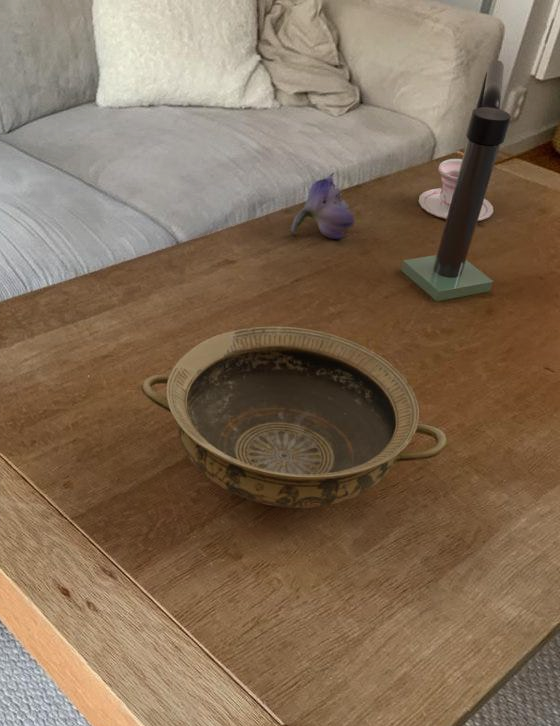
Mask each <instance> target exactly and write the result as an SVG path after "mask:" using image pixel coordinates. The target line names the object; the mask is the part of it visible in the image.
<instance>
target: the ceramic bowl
mask: <svg viewBox="0 0 560 726" xmlns="http://www.w3.org/2000/svg"><path fill="white" fill-rule="evenodd" d="M159 384H160V385H161V384H166V387H165V394H166V397H165V396H162V394H159V393H158V392H157V391H155V390H154V389H153V386H155V385H159ZM141 391H142V394H143V395H144V396H145V397H146V398H147V399H148V400H149V401H151V402H152V403H153V404H155V405H157V406H158V407H160V408H162V409H163V410H165V411H167V412H168V413H170V414H171V416H172V418H173V419H174V420H175V422H176V424H177V431H178V436H179V440H180V443H181V446H182V447H183V450H184V451H185V453H186V455H187V457H188V458H189V460H190V461H191V463H192V464H193V465H194V466H195V467H196V468H197V469H198V470H199V471H200V472H201V473H202V474H203V475H204V476H205V477H207V478H208V479H209V480H210V481H212V482H213V483H214V484H216V485H217V486H219V487H221V488H222V489H224V490H226V491H228V492H230V493H232V494H235V495H236V496H238V497H240V498H243V499H246V500H249V501H253V502H255V503H258V504H259V503H260V504H264V505H268V506H274V507H280V508H293V509H310V508H319V507H326V506H330V505H336V504H339V503H343V502H346V501H348V500H351V499H353V498H355V497H359V496H360V495H362V494H364V493H366V492H367V491H369V490H370V489H372V488H374V487H375V486H376V485H377V484H378V483H380V482H381V481H382V480H383V479H384V478H385V477H386V476H387V474H388V473H389V472H390V471H391V470H392V469H393V468H394V467H395V466H396V465H397V464H400V463H404V462H405V463H406V462H407V463H408V462H419V461H425V460H429V459H432V458H435V457H437V456H438V455H440V454H441V453H442V452H443V451H444V450H445V448H446V446H447V443H448V441H447V437H446V434H445V433H444V432H443V431H442V430H441V429H440V428H437V427H434V426H432V425H428V424H424V423H419V419H420V407H419V403H418V399H417V397H416V393H415V392H414V390H413V388H412V386H411V385H409V382H408V381H407V379H406V378H405V377H404V376H403V374H402V373H401V372H400V371H399V370H398V369H397V368H395V366H393V365H392V364H391V363H390V362H389V361H387V360H386V359H384V358H383V357H382V356H380V355H379V354H377V353H376V352H374V351H372V350H371V349H369V348H367V347H365V346H363V345H361V344H360V343H356V342H355V341H352V340H349V339H347V338H344V337H341V336H338V335H335V334H331V333H328V332H324V331H319V330H314V329H309V328H302V327H292V326H272V325H271V326H258V327H257V326H256V327H250V328H241V329H237V330H232V331H226V332H224V333H220V334H217V335H215V336H212V337H209V338H208V339H205V340H203V341H201V342H200V343H198V344H197V345H195V346H194V347H193V348H191V349H190V350H188V352H186V353H185V354H184V355H183V356H182V357H181V358H180V359H179V360H178V361H177V363H175V365H174V366H173V368H172V369H171V371H170V373H169V374H155V375H151V376H148V377H147V378H146V379H144V380H143V382H142V383H141ZM415 434H420V435H426V436H428V437H430V438H433V439H434V440H435V441H436V444H435V445H434V446H432V447H430V448H428V449H425V450H421V451H404V450H405V449H406V448H407V446H408V445H409V444H410V443H411V441H412V438H413V436H414V435H415Z"/></svg>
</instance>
